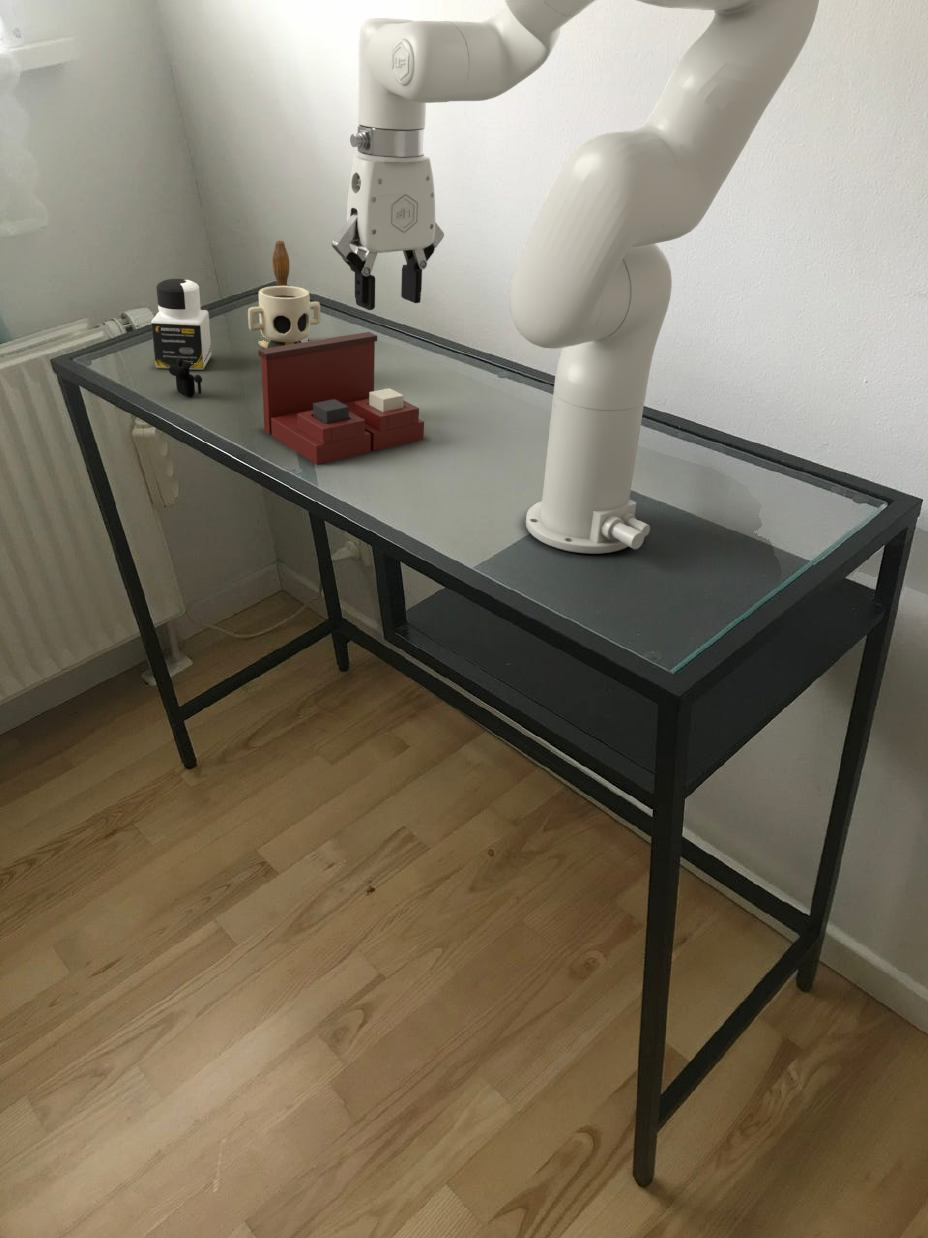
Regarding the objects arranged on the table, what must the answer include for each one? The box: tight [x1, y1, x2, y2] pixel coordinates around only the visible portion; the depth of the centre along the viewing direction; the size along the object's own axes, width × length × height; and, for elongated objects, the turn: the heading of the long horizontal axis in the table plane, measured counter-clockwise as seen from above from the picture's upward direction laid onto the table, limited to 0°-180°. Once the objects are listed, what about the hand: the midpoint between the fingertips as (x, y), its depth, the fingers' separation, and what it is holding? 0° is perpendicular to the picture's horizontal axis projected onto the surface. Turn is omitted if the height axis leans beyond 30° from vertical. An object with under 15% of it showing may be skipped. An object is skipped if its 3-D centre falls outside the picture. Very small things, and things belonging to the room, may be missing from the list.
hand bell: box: [258, 240, 290, 349], centre depth 164 cm, size 8×8×16 cm
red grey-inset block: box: [271, 410, 372, 466], centre depth 132 cm, size 11×8×4 cm
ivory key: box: [369, 387, 405, 412], centre depth 134 cm, size 3×3×2 cm
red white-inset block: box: [343, 398, 425, 452], centre depth 137 cm, size 11×8×4 cm
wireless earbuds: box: [168, 358, 203, 398], centre depth 144 cm, size 7×2×5 cm, turn 49°
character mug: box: [247, 285, 321, 348], centre depth 150 cm, size 11×7×13 cm, turn 121°
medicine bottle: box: [150, 278, 212, 371], centre depth 155 cm, size 7×7×12 cm
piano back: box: [257, 331, 378, 435], centre depth 137 cm, size 2×17×11 cm, turn 129°
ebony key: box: [313, 399, 349, 425], centre depth 129 cm, size 3×3×2 cm
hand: (388, 302), depth 127 cm, fingers open, 6 cm apart
